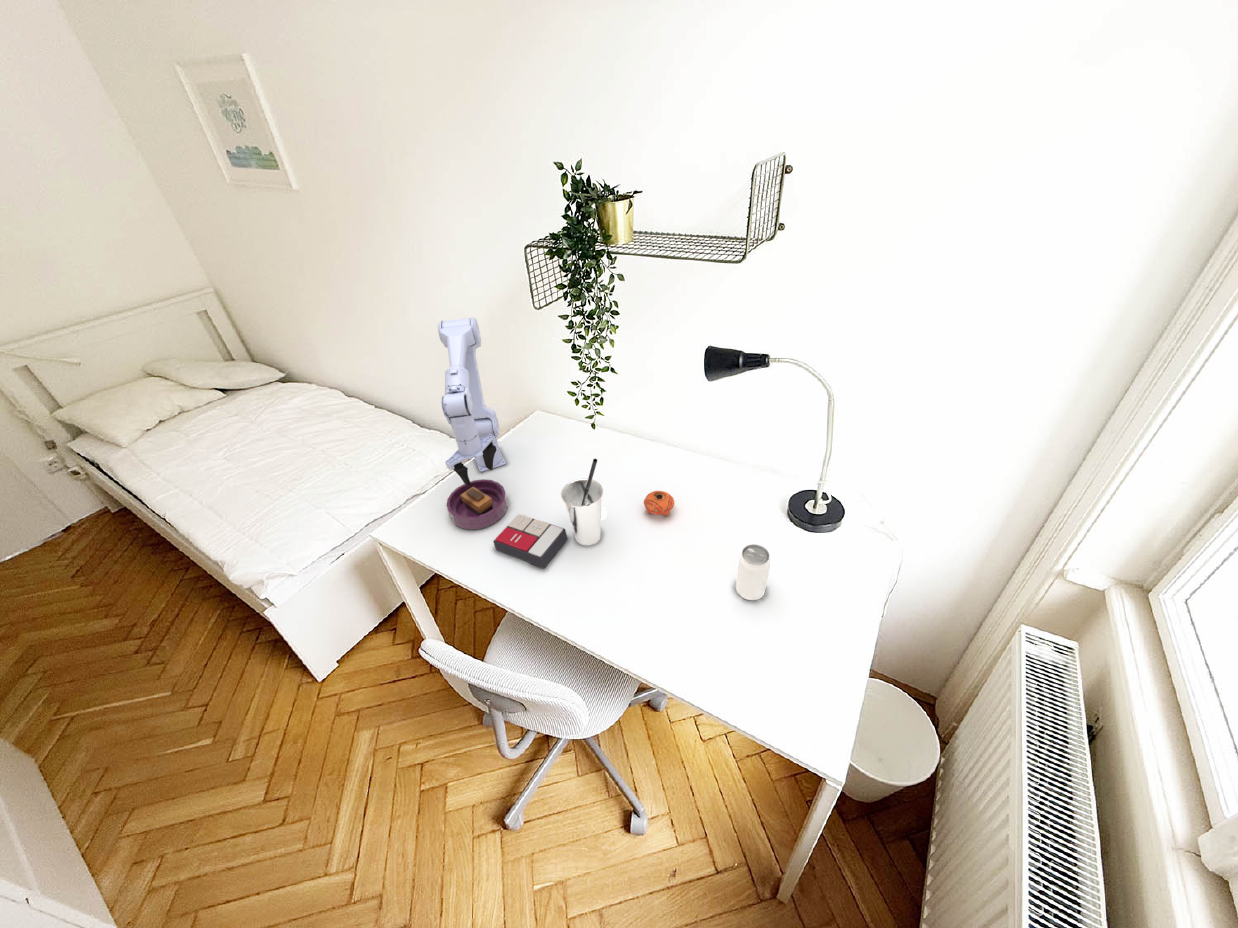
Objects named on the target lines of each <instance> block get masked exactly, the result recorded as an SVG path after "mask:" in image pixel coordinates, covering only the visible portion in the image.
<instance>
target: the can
mask: <svg viewBox="0 0 1238 928" xmlns="http://www.w3.org/2000/svg"><path fill="white" fill-rule="evenodd" d="M737 565H738V566H737V573H736V580H735V581H736V582H735V590H736V592H737V594H738V595H739V596H740V597H741V598H742V599H745V600H747V601H758V600H760V599H761V598H762V597H764V595H765V592H766V588H767V584H768V577H769V572H770V567H771V558H770V553H769V551H768V549H767V548H765V546H762V545H760V544H756V543H755V544H748V545H746V546H744V547H743V549H742V551H741V552H740V554H739V558H738V564H737Z"/></svg>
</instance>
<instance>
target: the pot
mask: <svg viewBox="0 0 1238 928" xmlns="http://www.w3.org/2000/svg"><path fill="white" fill-rule="evenodd" d="M643 505H644V507H645V510H646V513H647V514H648V515H649V514H650V513H651V514H654V515H660V516H661V515H665V517H668V516H669V515H670V512H671V511H672V510H673V508H674V506H675V499H674V497H673V496H672V495H671V493H669V492H667V491H663V490H654V491H651V492H649V493H647V495H646V496H645V498H644V500H643Z"/></svg>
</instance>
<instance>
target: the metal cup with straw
mask: <svg viewBox="0 0 1238 928" xmlns="http://www.w3.org/2000/svg"><path fill="white" fill-rule="evenodd" d="M597 464H598V459H597V458H593V459H592V462H591V466H590V471H589V474H588V478H576V479H574V480H571V481H569V482H567V483H566V484H565V485H564V486H563V487H562V489H561V492H560V498H561V500H562V501H563V503H564V504H565V508H566V512H567V515H568V518H569V521H570V523H571V526H572V530H573V533H574V534H573V535H574V538H575V541H576V542H577V543H578V544H579V545H581V546H585V547H586V546H588V547H589V546H592V545H596V544H597V543H598V542H599V541H600V540H601V536H602V535H601V534H602V533H601V529H602V528H601V526H602V525H601V523H602V522H601V520H602V497H603V495H604V488H603V486H602V484H601V483H600V482H598V481H597V480H594V479H593V477H594V474H595V472H596V467H597Z"/></svg>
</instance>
